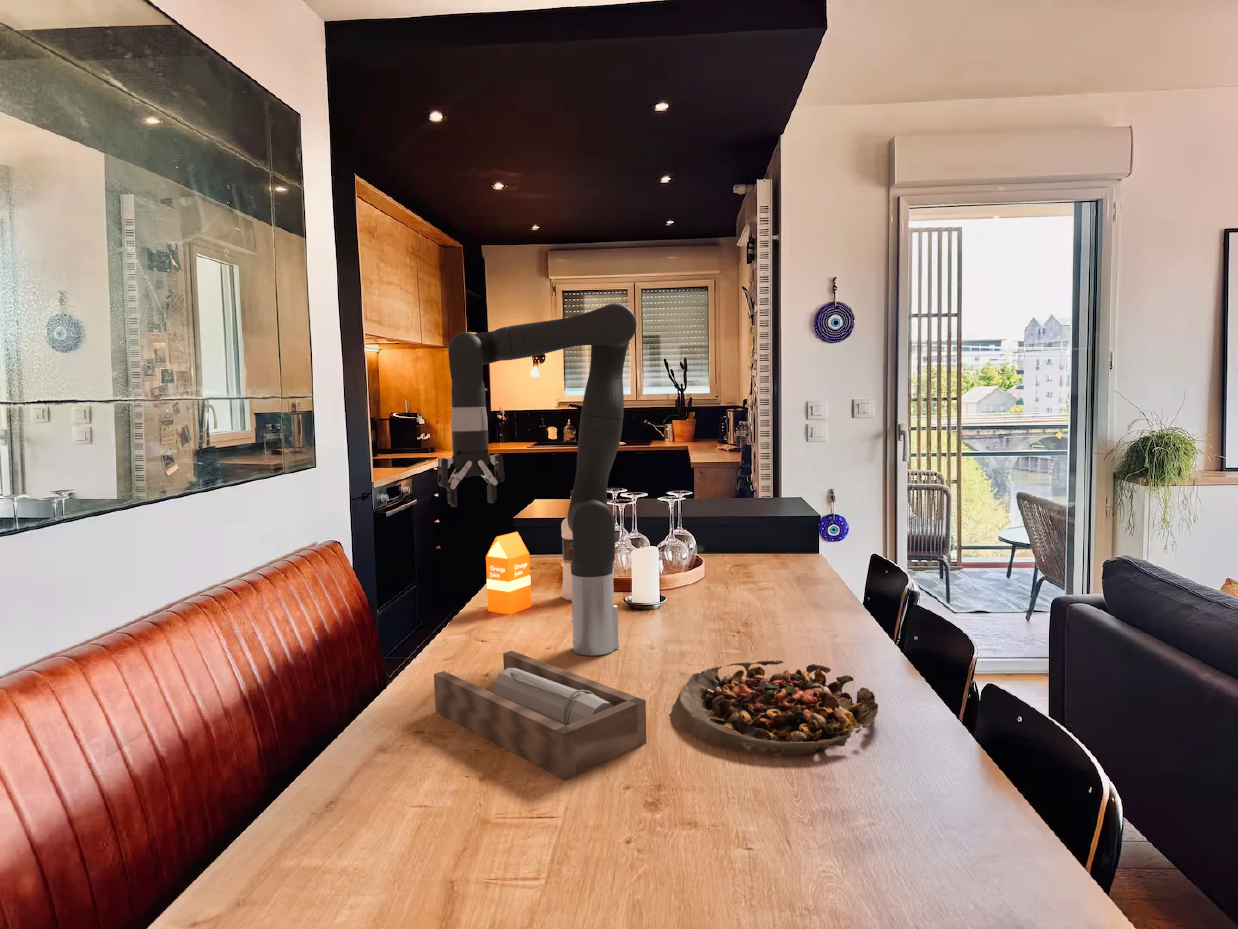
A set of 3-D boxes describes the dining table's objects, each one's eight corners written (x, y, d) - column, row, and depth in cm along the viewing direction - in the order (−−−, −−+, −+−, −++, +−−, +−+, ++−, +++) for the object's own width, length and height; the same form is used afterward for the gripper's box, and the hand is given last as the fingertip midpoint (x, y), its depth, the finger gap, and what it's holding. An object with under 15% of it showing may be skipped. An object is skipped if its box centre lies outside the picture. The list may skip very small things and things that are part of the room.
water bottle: (528, 685, 145) (625, 721, 127) (499, 716, 140) (596, 758, 123) (507, 648, 141) (605, 681, 124) (477, 679, 136) (574, 717, 119)
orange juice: (531, 606, 207) (529, 532, 206) (510, 614, 200) (507, 538, 198) (509, 602, 212) (506, 530, 210) (487, 610, 204) (484, 535, 202)
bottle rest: (435, 712, 139) (433, 673, 138) (512, 685, 151) (511, 650, 150) (565, 780, 113) (564, 734, 113) (646, 742, 125) (645, 700, 124)
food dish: (878, 697, 145) (880, 656, 144) (875, 785, 114) (877, 734, 113) (694, 672, 156) (694, 634, 155) (645, 747, 125) (645, 700, 124)
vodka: (584, 591, 222) (581, 487, 219) (601, 598, 214) (598, 490, 211) (555, 597, 217) (552, 490, 214) (572, 604, 209) (569, 493, 206)
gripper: (444, 430, 157) (447, 510, 159) (508, 427, 165) (510, 503, 167) (431, 429, 164) (434, 506, 165) (493, 426, 171) (495, 499, 173)
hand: (472, 504), depth 166 cm, fingers open, 8 cm apart
